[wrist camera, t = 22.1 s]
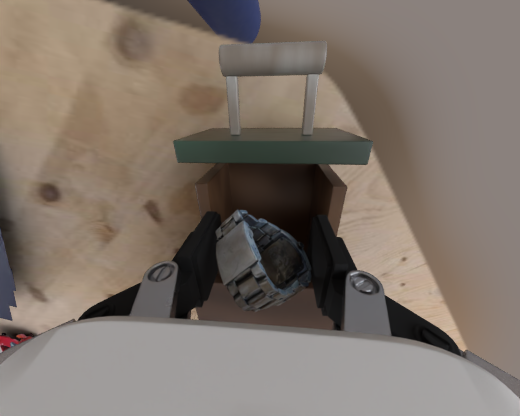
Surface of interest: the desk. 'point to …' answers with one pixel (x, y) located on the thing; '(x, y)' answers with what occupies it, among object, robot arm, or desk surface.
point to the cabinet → (265, 310)
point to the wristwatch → (260, 262)
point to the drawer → (274, 148)
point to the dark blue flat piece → (6, 284)
